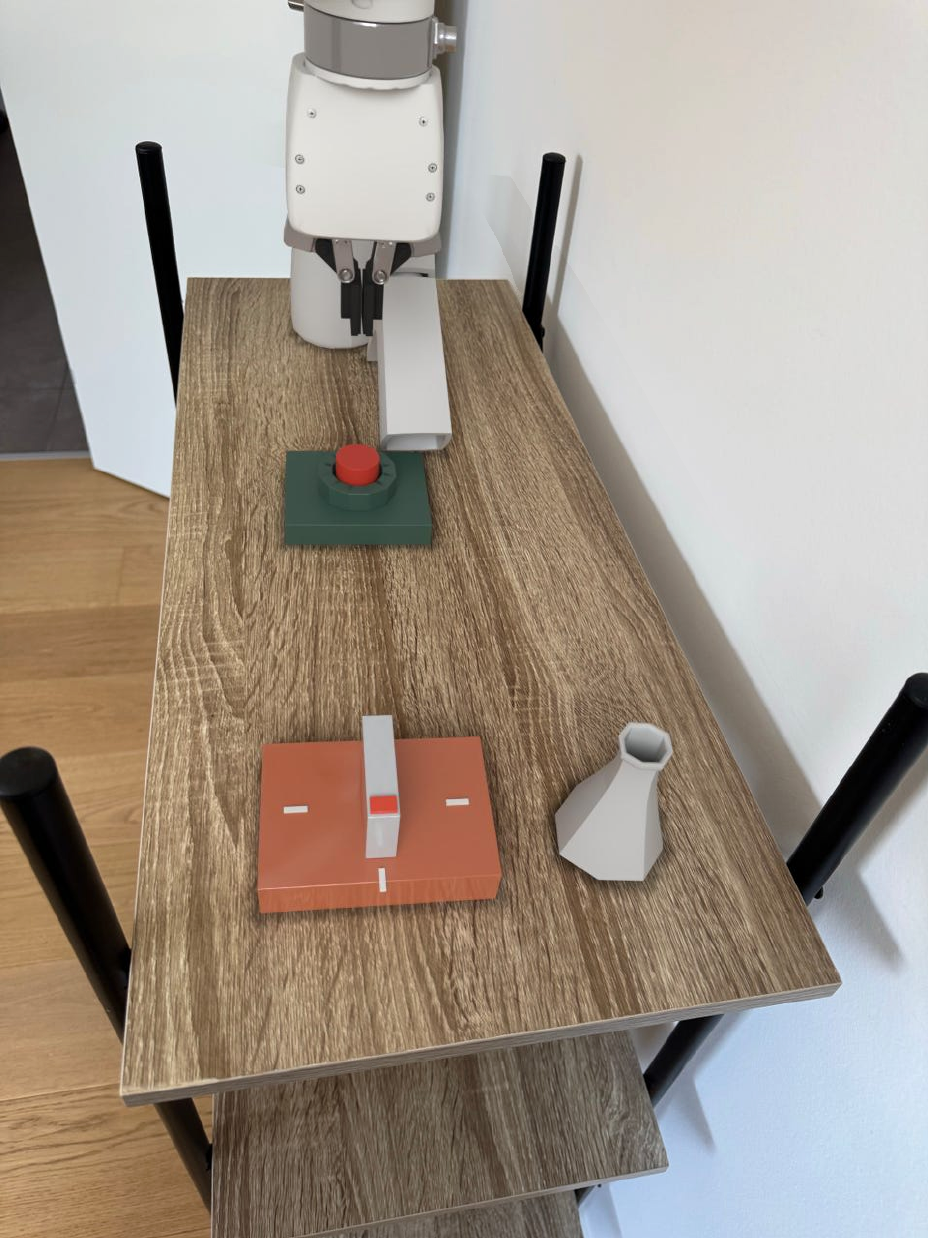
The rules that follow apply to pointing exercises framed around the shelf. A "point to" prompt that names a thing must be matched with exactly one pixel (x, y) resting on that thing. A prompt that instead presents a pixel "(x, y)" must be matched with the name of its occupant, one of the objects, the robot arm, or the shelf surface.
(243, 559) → the shelf surface
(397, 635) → the shelf surface
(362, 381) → the shelf surface
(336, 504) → the button block
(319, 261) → the soap bottle
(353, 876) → the panel
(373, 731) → the tap handle
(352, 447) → the button
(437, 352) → the faucet
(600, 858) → the flask
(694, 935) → the shelf surface
